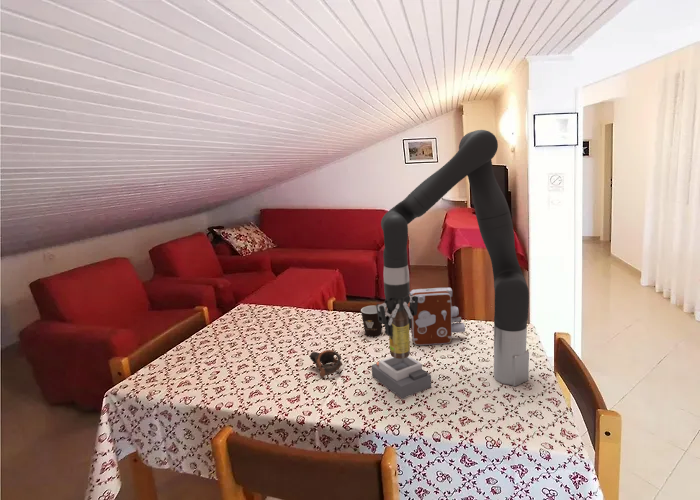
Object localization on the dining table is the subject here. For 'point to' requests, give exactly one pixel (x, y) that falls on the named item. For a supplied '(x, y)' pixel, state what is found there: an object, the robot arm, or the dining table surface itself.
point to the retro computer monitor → (401, 376)
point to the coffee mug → (371, 321)
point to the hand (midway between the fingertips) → (398, 332)
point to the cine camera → (435, 317)
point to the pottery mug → (326, 361)
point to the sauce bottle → (400, 333)
